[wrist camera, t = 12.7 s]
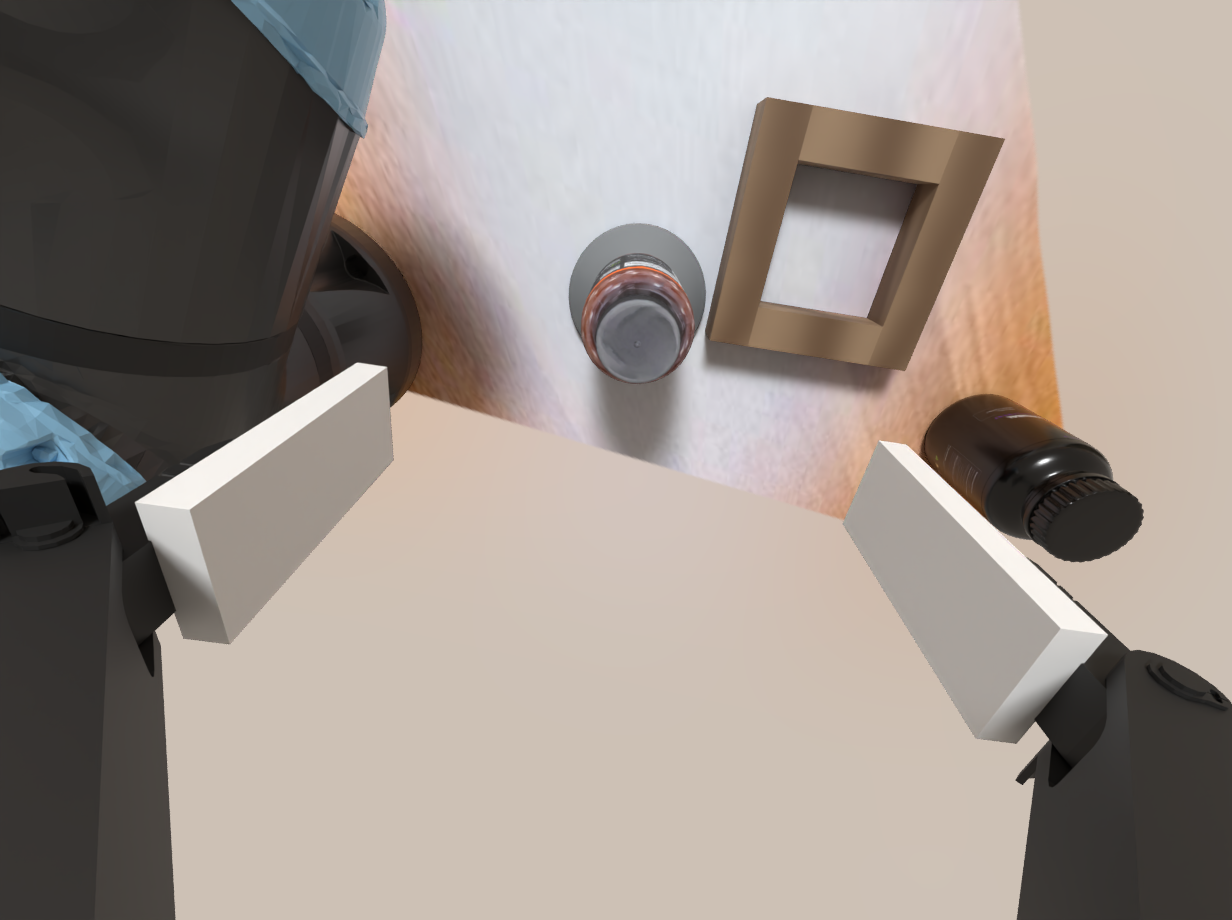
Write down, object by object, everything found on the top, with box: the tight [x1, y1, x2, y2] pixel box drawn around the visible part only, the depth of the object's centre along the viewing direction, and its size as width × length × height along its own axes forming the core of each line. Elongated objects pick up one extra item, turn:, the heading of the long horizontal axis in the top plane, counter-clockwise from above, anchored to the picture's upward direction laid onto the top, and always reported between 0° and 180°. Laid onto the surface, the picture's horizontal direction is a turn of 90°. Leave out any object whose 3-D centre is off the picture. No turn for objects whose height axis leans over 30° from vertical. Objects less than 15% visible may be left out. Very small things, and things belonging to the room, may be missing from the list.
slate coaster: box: [569, 223, 706, 336], centre depth 34 cm, size 9×9×1 cm
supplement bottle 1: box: [581, 253, 695, 384], centre depth 29 cm, size 6×6×11 cm
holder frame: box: [705, 97, 1005, 371], centre depth 31 cm, size 13×13×2 cm
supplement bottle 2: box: [925, 394, 1144, 562], centre depth 33 cm, size 7×7×12 cm
